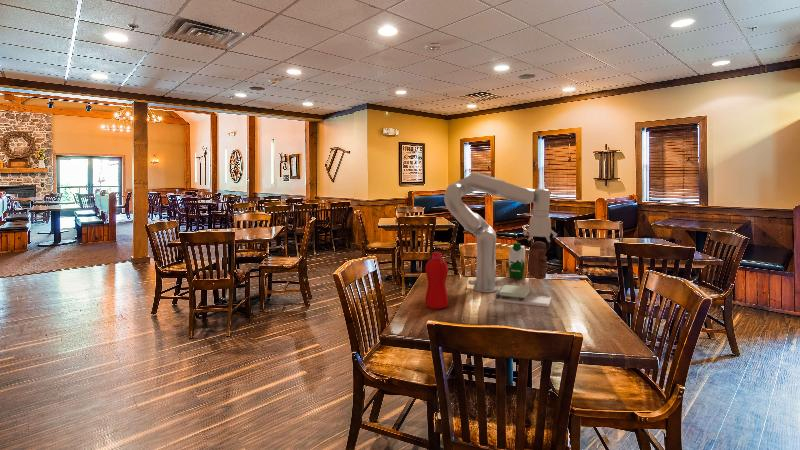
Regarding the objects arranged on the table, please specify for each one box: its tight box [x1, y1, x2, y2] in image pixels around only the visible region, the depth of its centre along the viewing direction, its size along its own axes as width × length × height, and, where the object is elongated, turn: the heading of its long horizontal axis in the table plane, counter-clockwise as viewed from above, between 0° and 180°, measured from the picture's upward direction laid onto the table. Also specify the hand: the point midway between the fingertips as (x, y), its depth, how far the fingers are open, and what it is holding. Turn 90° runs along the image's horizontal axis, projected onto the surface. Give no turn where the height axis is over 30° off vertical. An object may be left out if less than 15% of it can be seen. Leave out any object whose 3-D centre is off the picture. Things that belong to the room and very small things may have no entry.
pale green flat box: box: [499, 284, 531, 300], centre depth 213 cm, size 12×14×3 cm
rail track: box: [494, 287, 552, 308], centre depth 212 cm, size 24×13×3 cm, turn 66°
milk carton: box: [508, 242, 526, 279], centre depth 258 cm, size 9×9×20 cm
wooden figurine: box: [528, 240, 548, 280], centre depth 223 cm, size 12×6×18 cm, turn 18°
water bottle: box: [424, 251, 449, 310], centre depth 201 cm, size 9×11×25 cm
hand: (538, 248), depth 223 cm, fingers closed on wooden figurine, 7 cm apart
